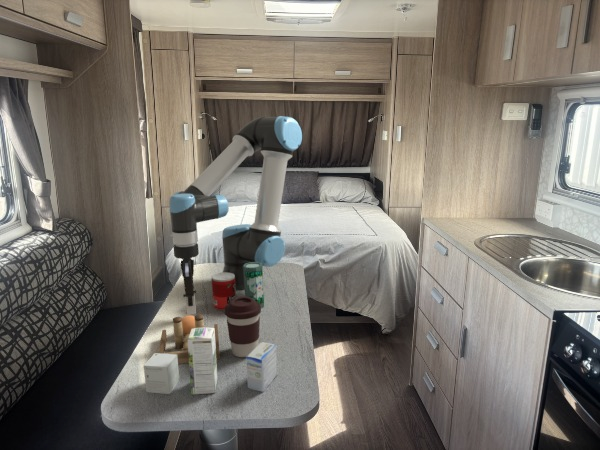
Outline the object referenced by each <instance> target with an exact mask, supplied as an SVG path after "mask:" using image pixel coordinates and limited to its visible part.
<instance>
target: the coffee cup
mask: <svg viewBox="0 0 600 450" xmlns="http://www.w3.org/2000/svg"><path fill="white" fill-rule="evenodd" d="M223 312H224V315H225V316H226V318H227V319H226V324H227V325H226V326H227V332H228V339H229V341H230V345H231V346H230V347H231V353H232V354H233V355H234V356H235V357H238V358H246V357H247V356H248V355H249V354H250V353H251V352H252V351H253V350H254V349H255V348H256V347H257V346H258V345H259V338H260V325H261V324H260V322H261V320H260V314H261V312H262V308H261V305H260V303H258V302H256V301H255V300H254V299H253V298H251V297H245V296H240V297H236V298H234V299H232V300H231V301H230V303H229V304H227V305H226V306H225V308H224V310H223Z"/></svg>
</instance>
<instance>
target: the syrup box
mask: <svg viewBox="0 0 600 450" xmlns="http://www.w3.org/2000/svg"><path fill="white" fill-rule="evenodd" d="M188 355H189V362H188V367H189V368H188V369H189V370H188V371H189V380H190V394H191V395H193V396H194V395H204V394H205V395H206V394H207V395H208V394H215V393H216V389H217V384H218V365H217V364H218V362H217V359H216V344H215V328H214V327H204V328H194V329H191V332H190V335H189V338H188Z"/></svg>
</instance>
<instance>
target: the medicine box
mask: <svg viewBox="0 0 600 450" xmlns="http://www.w3.org/2000/svg"><path fill="white" fill-rule="evenodd" d="M245 358H246V359H245V360H246V361H245V362H246V377H247V378H246V379H247V380H246V381H247V388H248V389H250V390H253V391H258V392H260V393H262V392H265V391H266V389H267V388H268V387H269V386H270V384H271V383H272V382H273V380H275V378H276V377H277V376H278V346H277V344H273V343H270V342H263V341H260V343H258V346H257V347H256V348H255V349H254V350H253V351H252V352H251V353H250V354H249V355H248V356H247V357H245Z"/></svg>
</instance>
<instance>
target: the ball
mask: <svg viewBox="0 0 600 450" xmlns="http://www.w3.org/2000/svg"><path fill="white" fill-rule="evenodd" d="M181 318H182V328H183V336H186V335H187V334H190V332H191V329H194V328H195V316H194V315H185V316H183V317H181Z"/></svg>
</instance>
